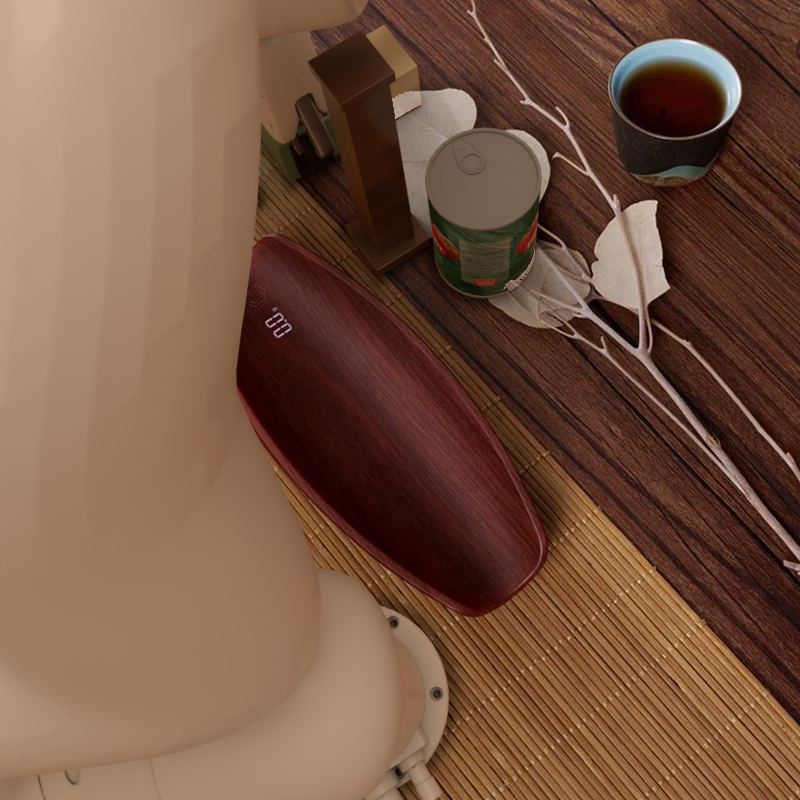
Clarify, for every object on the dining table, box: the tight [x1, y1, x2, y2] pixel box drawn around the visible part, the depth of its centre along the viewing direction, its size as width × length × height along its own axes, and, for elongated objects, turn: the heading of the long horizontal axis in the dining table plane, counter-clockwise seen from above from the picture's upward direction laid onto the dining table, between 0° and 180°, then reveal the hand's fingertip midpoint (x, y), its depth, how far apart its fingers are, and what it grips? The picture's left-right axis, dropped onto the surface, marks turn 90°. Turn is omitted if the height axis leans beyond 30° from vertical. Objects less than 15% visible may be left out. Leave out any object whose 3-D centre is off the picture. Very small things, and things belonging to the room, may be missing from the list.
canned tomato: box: [424, 127, 543, 300], centre depth 67 cm, size 8×8×11 cm
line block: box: [365, 24, 421, 98], centre depth 76 cm, size 5×5×5 cm
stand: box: [308, 30, 432, 278], centre depth 64 cm, size 5×5×21 cm
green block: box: [261, 113, 340, 183], centre depth 75 cm, size 5×5×5 cm
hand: (299, 140), depth 77 cm, fingers closed on green block, 5 cm apart
